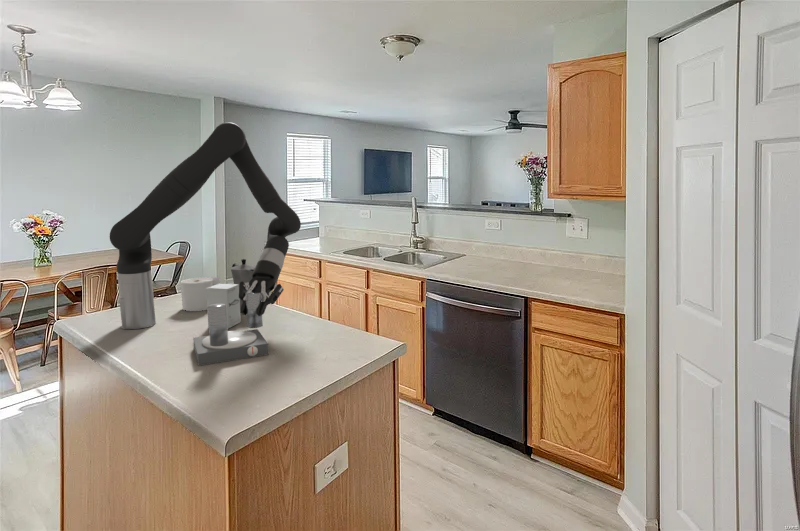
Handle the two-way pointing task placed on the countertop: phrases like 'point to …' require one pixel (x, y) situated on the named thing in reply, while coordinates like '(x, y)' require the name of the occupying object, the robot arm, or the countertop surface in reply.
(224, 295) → the supplement box
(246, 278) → the coffeepot
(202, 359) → the scale
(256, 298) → the spacer
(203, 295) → the toilet tissue
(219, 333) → the cylinder
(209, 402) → the countertop surface
